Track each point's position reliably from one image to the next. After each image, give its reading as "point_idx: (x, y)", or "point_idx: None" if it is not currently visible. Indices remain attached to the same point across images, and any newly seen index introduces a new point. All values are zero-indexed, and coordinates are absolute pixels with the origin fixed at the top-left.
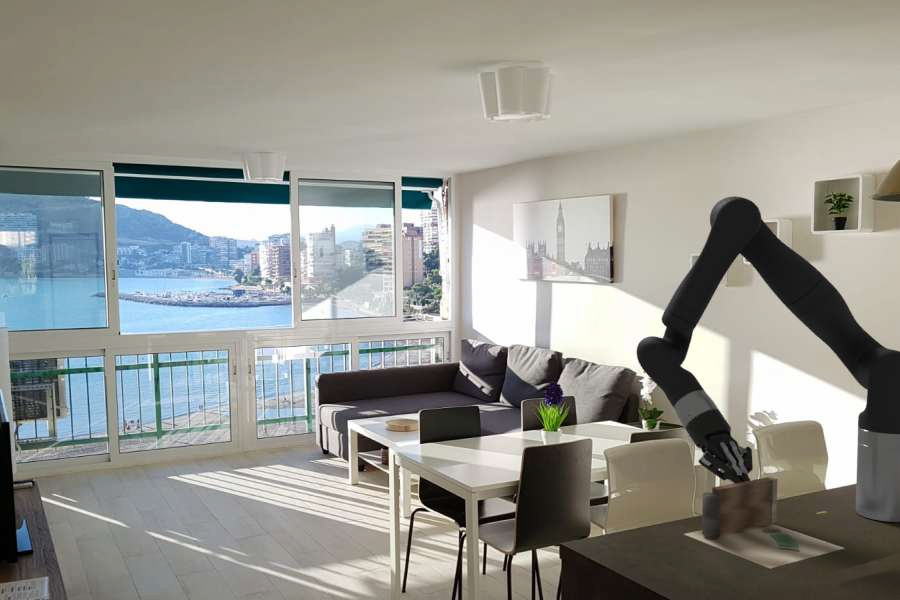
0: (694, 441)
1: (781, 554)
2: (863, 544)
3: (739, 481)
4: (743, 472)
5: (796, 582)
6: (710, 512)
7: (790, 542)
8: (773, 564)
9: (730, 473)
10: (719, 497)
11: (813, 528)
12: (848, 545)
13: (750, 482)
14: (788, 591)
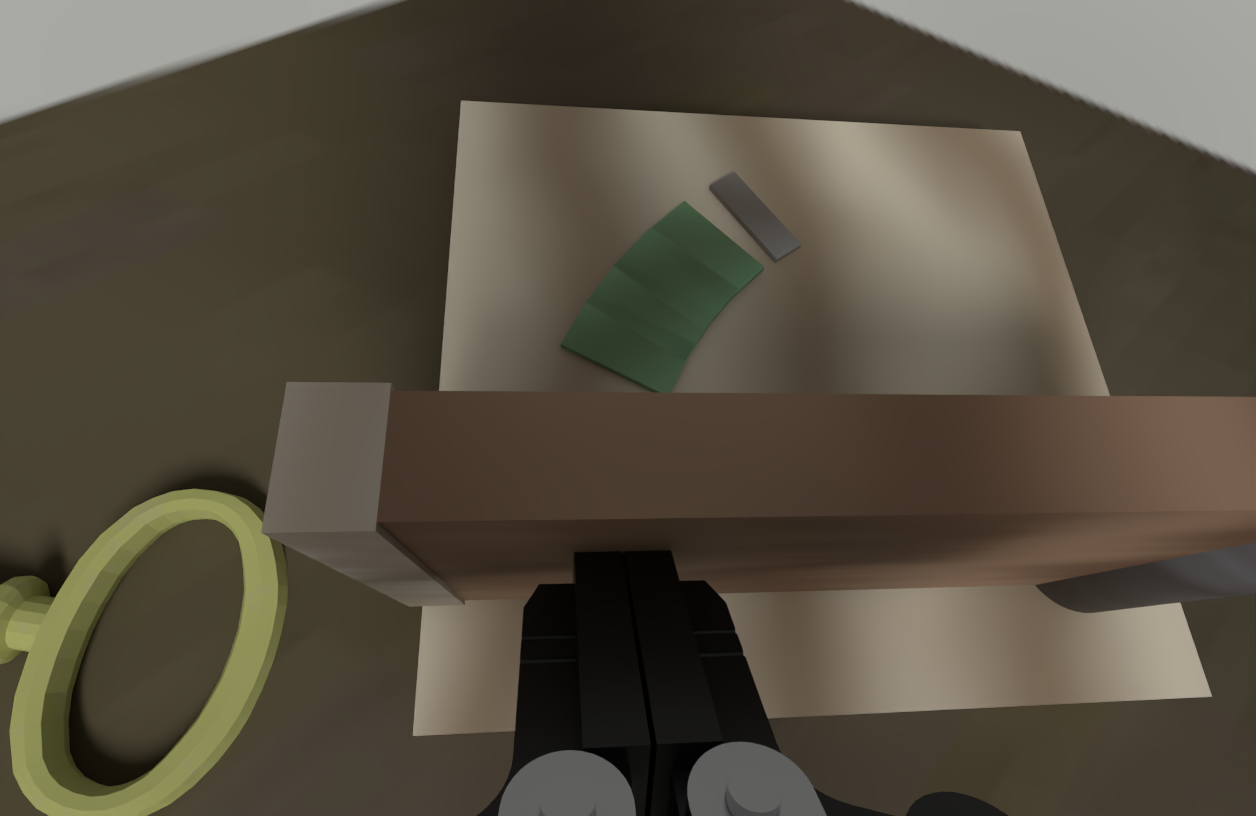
0: None
1: (846, 196)
2: (170, 179)
3: (764, 712)
4: (630, 797)
5: (919, 97)
6: None
7: (670, 257)
8: (974, 148)
9: (980, 808)
10: None
11: (90, 484)
12: (263, 207)
13: (814, 442)
14: (1007, 72)
